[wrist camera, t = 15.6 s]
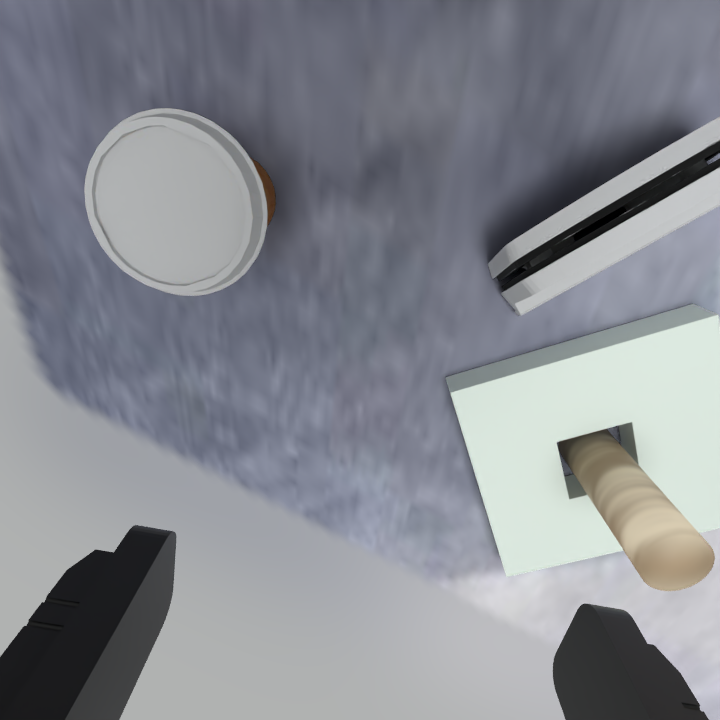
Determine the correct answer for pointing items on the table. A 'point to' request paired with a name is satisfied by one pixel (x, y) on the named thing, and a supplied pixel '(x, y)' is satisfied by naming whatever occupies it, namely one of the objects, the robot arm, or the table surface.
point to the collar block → (590, 414)
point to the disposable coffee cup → (178, 202)
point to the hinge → (613, 221)
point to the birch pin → (638, 513)
